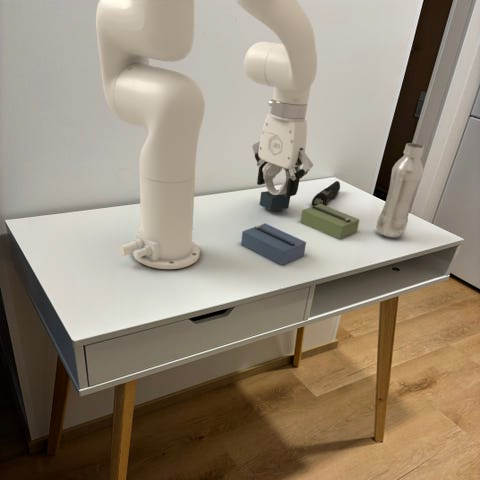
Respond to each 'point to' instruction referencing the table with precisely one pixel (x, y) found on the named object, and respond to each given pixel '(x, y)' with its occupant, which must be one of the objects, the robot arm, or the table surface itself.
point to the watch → (274, 197)
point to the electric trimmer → (326, 194)
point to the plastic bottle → (401, 192)
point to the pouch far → (329, 221)
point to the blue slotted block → (273, 243)
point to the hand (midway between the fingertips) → (276, 189)
